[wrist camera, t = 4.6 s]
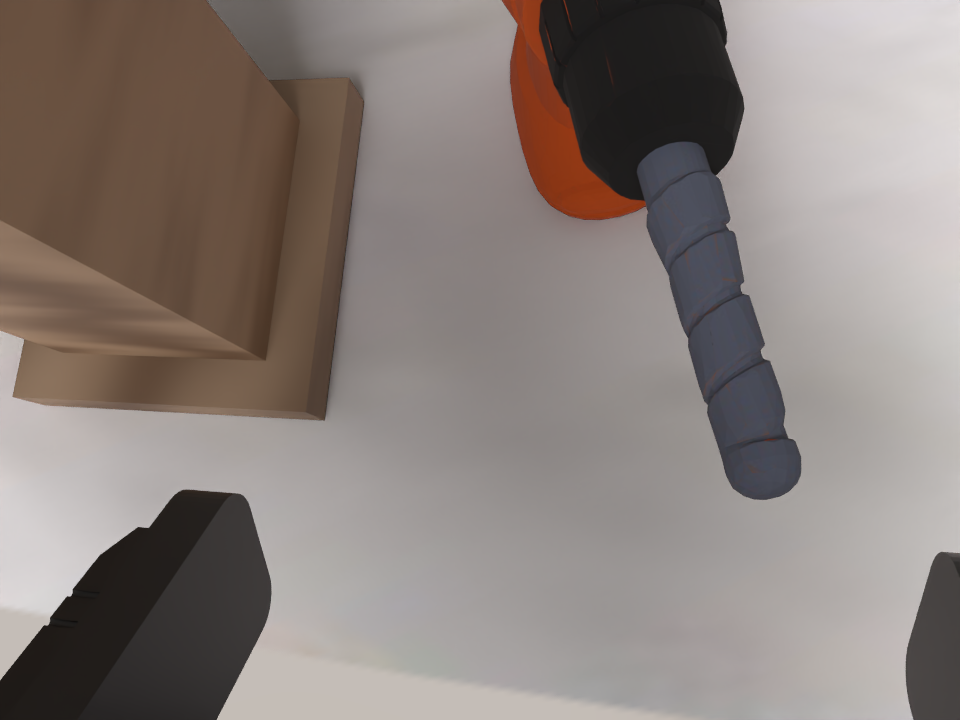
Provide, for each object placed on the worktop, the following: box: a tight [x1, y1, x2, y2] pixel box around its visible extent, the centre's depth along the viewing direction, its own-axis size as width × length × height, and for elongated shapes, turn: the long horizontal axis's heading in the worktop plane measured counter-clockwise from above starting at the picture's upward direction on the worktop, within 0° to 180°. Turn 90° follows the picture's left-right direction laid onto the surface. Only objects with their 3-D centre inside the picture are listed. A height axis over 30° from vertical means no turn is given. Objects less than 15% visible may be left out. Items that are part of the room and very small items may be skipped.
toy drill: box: [502, 0, 801, 500], centre depth 18 cm, size 5×19×15 cm, turn 10°
